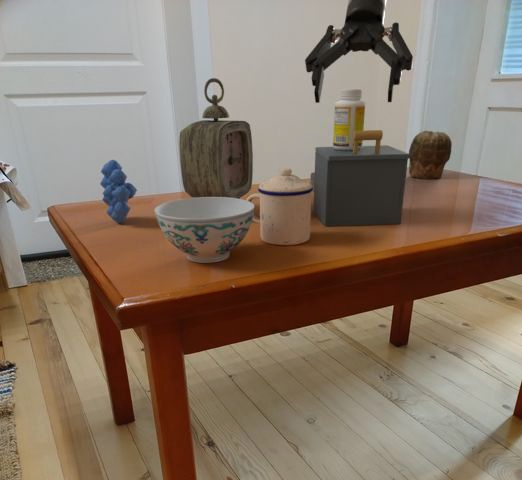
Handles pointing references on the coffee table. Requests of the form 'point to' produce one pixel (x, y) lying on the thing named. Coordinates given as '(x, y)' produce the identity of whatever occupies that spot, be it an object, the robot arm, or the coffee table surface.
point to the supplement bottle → (348, 119)
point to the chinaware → (205, 225)
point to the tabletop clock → (216, 153)
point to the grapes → (116, 191)
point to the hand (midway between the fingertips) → (352, 97)
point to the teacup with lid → (284, 209)
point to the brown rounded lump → (429, 154)
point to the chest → (359, 191)
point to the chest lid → (363, 149)
